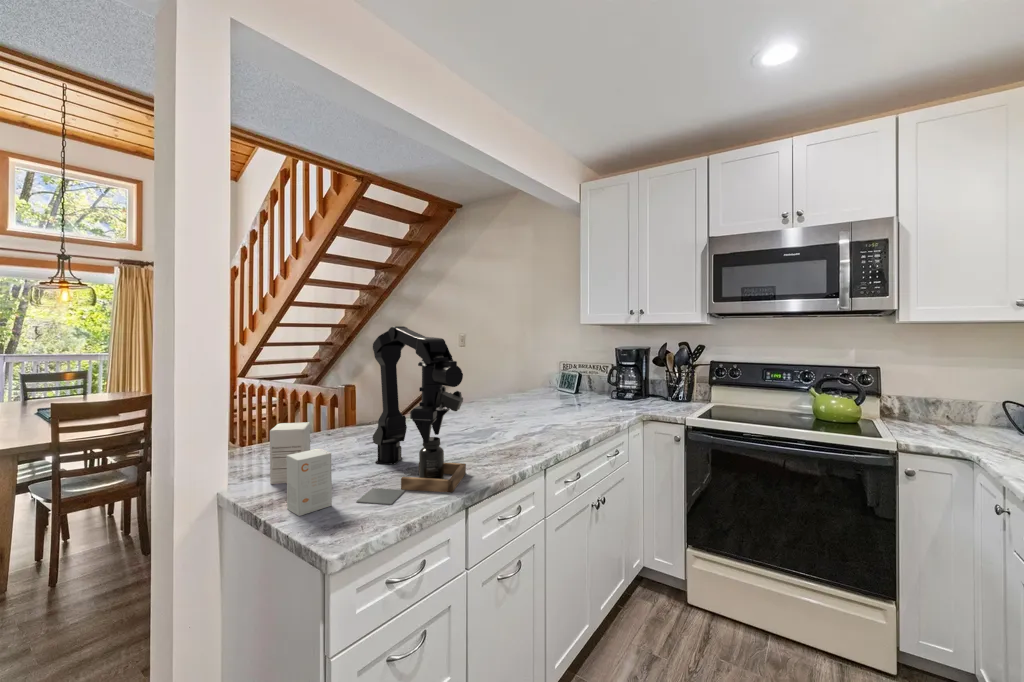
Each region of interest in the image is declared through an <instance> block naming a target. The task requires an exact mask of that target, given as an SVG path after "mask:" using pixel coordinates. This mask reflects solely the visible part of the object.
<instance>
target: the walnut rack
mask: <svg viewBox="0 0 1024 682" xmlns="http://www.w3.org/2000/svg"><path fill="white" fill-rule="evenodd" d="M466 467H467V463H465V462H464V463H462V462H445V461H444V475H451V476H450V477H449V479H447V478H446V479H445V478H444V479H433V478H419V477H416V476H415V477H414V476H401V477H400V490H405V491H418V492H419V491H420V492H421V491H423V492H437V493H451V494H452V493H453V492H454V491H455V489H456V488H457V486H458V485H459V483H460V482H461V481H462V480H463V478H464V477H465V475H466V473H467V472H466V471H467V470H466V469H467V468H466Z"/></svg>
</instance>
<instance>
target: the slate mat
mask: <svg viewBox="0 0 1024 682" xmlns="http://www.w3.org/2000/svg"><path fill="white" fill-rule="evenodd" d="M405 492H406V490H402V489H398V488H397V489H393V488H379V487H378V488H377V487H376V488H375V487H372V488H371V489H369V490H368V491H367V492H366V493H365V494H364V495H362V496H361V497H360V498H359V499H358V500H356V503H358V504H359V503H361V504H372V505H373V504H374V505H375V504H376V505H387V506H389V505H390V506H392V505H393V504H394V503H395V502H396V501H397V500H398V499H399V498H400V497H401V496H402V495H403V494H404V493H405Z"/></svg>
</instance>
